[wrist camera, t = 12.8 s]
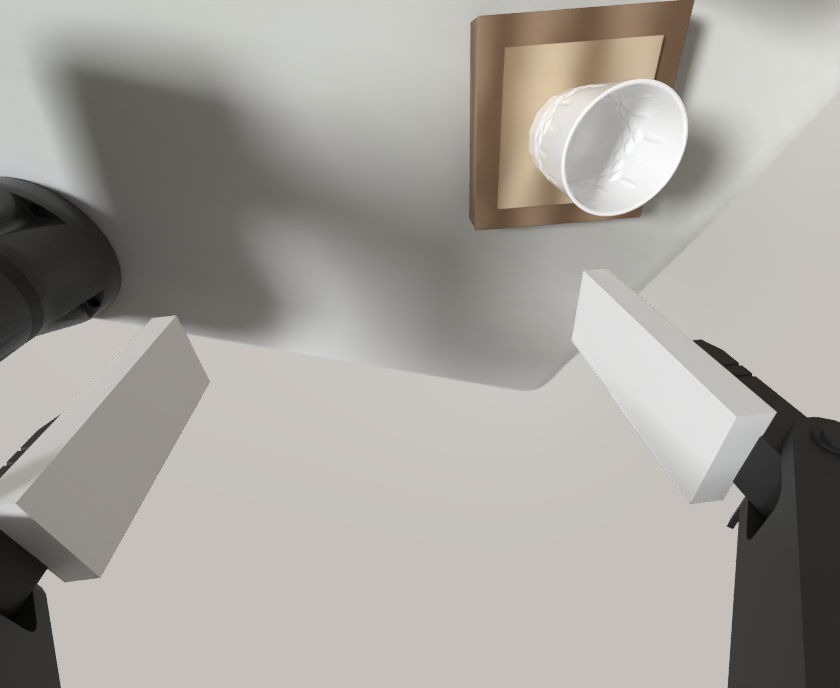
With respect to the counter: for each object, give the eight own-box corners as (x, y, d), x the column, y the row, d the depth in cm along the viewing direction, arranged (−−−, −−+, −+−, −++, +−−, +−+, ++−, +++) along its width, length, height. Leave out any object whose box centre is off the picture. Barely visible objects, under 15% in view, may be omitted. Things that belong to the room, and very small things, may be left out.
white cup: (607, 176, 35) (673, 206, 27) (520, 190, 35) (558, 224, 27) (620, 70, 31) (704, 67, 22) (520, 87, 31) (566, 91, 23)
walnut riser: (469, 218, 41) (476, 232, 37) (470, 22, 32) (480, 14, 28) (620, 205, 41) (642, 218, 37) (663, 7, 32) (699, -3, 28)
